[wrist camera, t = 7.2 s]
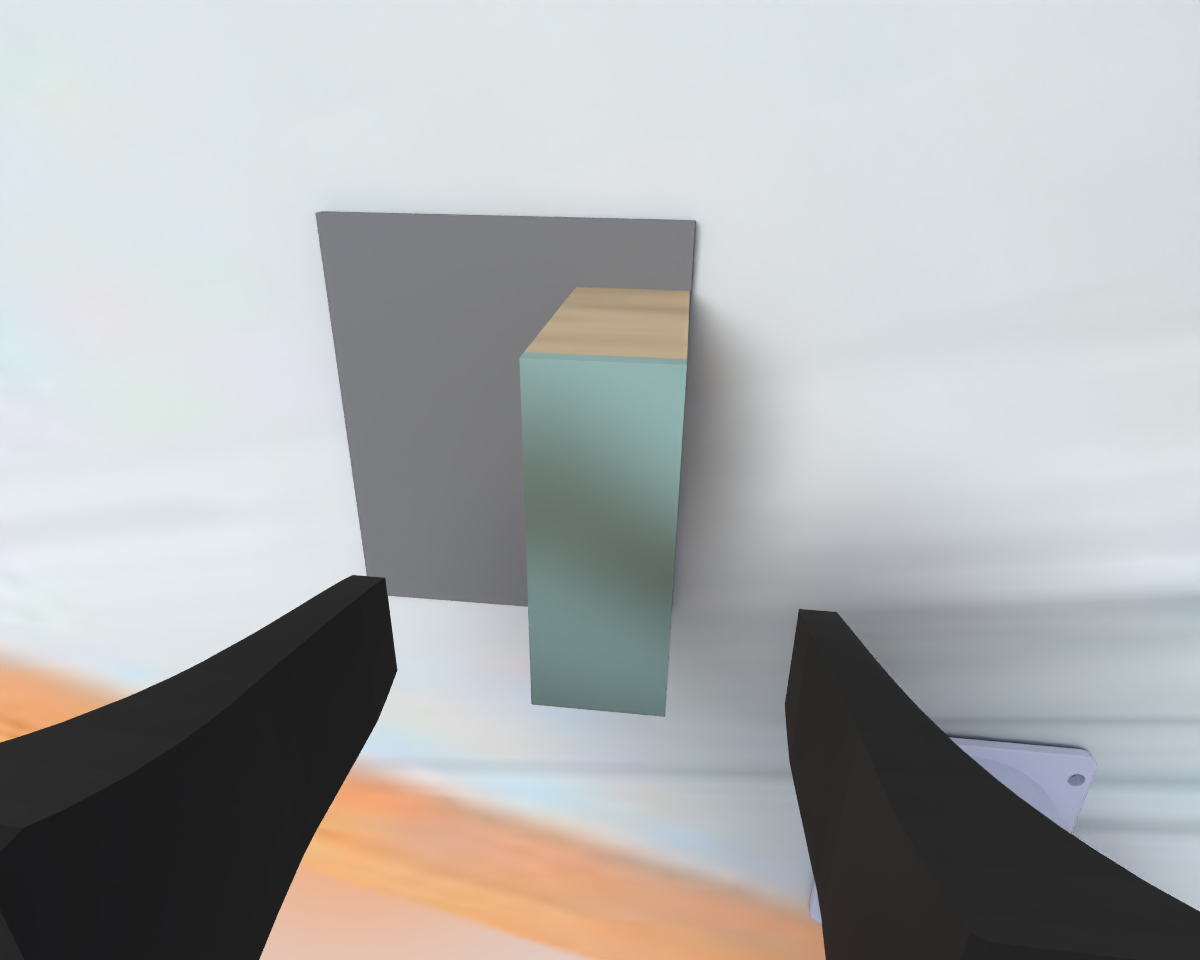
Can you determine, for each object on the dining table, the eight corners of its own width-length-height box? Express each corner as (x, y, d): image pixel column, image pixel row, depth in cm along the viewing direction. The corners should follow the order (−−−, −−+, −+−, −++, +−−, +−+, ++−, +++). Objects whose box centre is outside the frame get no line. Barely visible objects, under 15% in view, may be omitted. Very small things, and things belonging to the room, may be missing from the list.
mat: (671, 610, 24) (670, 617, 24) (374, 587, 25) (369, 594, 25) (695, 220, 19) (695, 221, 19) (321, 211, 20) (315, 212, 20)
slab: (673, 555, 23) (665, 716, 16) (576, 548, 23) (531, 703, 17) (690, 290, 19) (686, 365, 13) (576, 287, 20) (519, 357, 13)
